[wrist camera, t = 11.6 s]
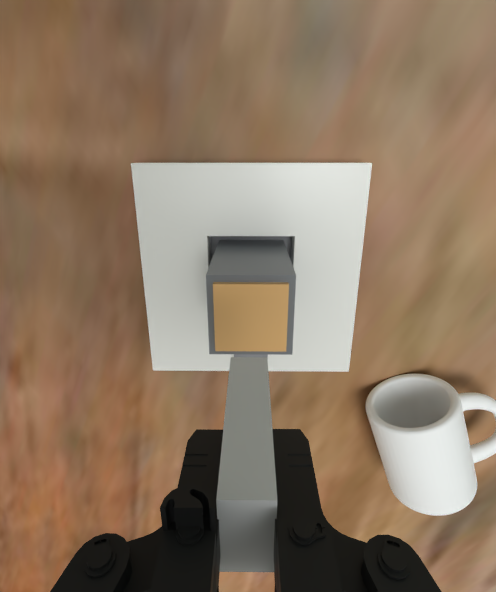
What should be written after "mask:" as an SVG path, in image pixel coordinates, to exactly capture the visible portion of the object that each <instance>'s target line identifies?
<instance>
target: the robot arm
mask: <svg viewBox="0 0 496 592" xmlns="http://www.w3.org/2000/svg"><path fill="white" fill-rule="evenodd" d="M160 511H161V519H162V527H161V528H159V529H158V530H156V531H155V532H153V533H151V534H149V535H147V536H144V537H141V538H138V539H135V540H131V541H128V542H126V540H125V539H124V538H123V537H121V536H119V535H117V534H110V533H105V534H102V535H99V536H96V537H94V538H92V539H91V540H89V541H88V542H86V543H85V544H84V545H83V546H82V547H81V548H80V549H79V550H78V552H77V553H76V554H75V555H74V557H73V558H72V560H71V561H70V563H69V564H68V566H67V567H66V569H65V570H64V572H63V573H62V575H61V576H60V578H59V579H58V581H57V582H56V584H55V585H54V587H53V588H52V590H51V591H50V592H219V586H218V583H219V570H220V572H274V574H275V592H441V590H440V589H439V587H438V586H437V584H436V583H435V581H434V579H433V578H432V576H431V575H430V573H429V572H428V570H427V568H426V567H425V565H424V564H423V562H422V561H421V559H420V557H419V556H418V555H417V553H416V552H415V551H414V550H413V549H412V548H411V546H410V545H408V544H407V543H405V542H404V541H402V540H401V539H399V538H396V537H393V536H390V535H377V536H375V537H373V538H371V539H369V541H368V542H367V543H365V542H362V541H359V540H356V539H353V538H351V537H348V536H346V535H343V534H341V533H340V532H338V531H337V530H335V529H334V528H333V527H332V526H331V525H330V524H329V523H328V522H327V520H326V518H325V517H324V515H323V512H322V509H321V504H320V499H319V494H318V489H317V483H316V478H315V473H314V468H313V462H312V457H311V452H310V447H309V441H308V439H307V438H306V437H305V435H304V434H303V433H302V431H301V430H300V429H272V417H271V403H270V389H269V375H268V361H267V357H231V359H230V369H229V379H228V389H227V399H226V409H225V419H224V428H223V430H196V431H195V432H194V433H193V435H192V436H191V437H190V439H189V440H188V442H187V447H186V452H185V457H184V461H183V467H182V470H181V475H180V479H179V484H178V488H177V489H175V490H173V491H171V492H170V493H169V494H168V495H167V496H166V497H165V498H164V500H163V502H162V505H161V507H160Z"/></svg>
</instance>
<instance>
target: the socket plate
mask: <svg viewBox="0 0 496 592" xmlns="http://www.w3.org/2000/svg"><path fill="white" fill-rule="evenodd" d="M131 169H132V178H133V188H134V197H135V206H136V216H137V225H138V234H139V244H140V253H141V262H142V272H143V281H144V290H145V300H146V309H147V318H148V328H149V337H150V346H151V356H152V365H153V370H165V371H229V369H230V359H231V357H267V361H268V371H345V372H349V365H350V356H351V347H352V338H353V329H354V320H355V311H356V303H357V294H358V285H359V276H360V267H361V258H362V249H363V240H364V231H365V222H366V214H367V205H368V196H369V187H370V178H371V169H372V163H365V162H140V163H131ZM219 240H283V241H284V243H285V246H286V249H287V252H288V254H289V257H290V260H291V263H292V265H293V268H294V271H295V274H296V288H295V309H294V330H293V351H292V355H273V354H209V336H208V313H207V290H206V273H207V271H208V268H209V266H210V263H211V260H212V258H213V255H214V253H215V250H216V248H217V245H218V242H219Z"/></svg>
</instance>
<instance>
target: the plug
mask: <svg viewBox="0 0 496 592" xmlns="http://www.w3.org/2000/svg"><path fill="white" fill-rule="evenodd" d="M295 288H296V274H295V271H294V268H293V265H292V263H291V260H290V257H289V254H288V252H287V249H286V246H285V243H284V241H283V240H219V242H218V245H217V248H216V250H215V253H214V255H213V258H212V260H211V263H210V266H209V268H208V271H207V273H206V290H207V313H208V336H209V354H273V355H292V351H293V330H294V309H295Z"/></svg>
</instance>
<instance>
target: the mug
mask: <svg viewBox="0 0 496 592" xmlns="http://www.w3.org/2000/svg"><path fill="white" fill-rule="evenodd" d="M472 409H482V410H487V411H490V412H492V413H493V414H494V417H495V420H496V400H494V399H493V398H491V397H490V396H487V395H485V394H481V393H474V392H469V393H459V394H458V393H457V391H456V390H455V389H454V387H452V386H451V385H450V384H449V383H447V382H446V381H444V380H442V379H440V378H437V377H434V376H431V375H426V374H403V375H398V376H395V377H392V378H389V379H387V380H385V381H383V382H381V383H379V384H378V385H377V386H376V387H374V388H373V389H372V391H371V392H370V393H369V395H368V397H367V400H366V413H367V416H368V419H369V422H370V425H371V429H372V432H373V435H374V438H375V441H376V444H377V448H378V451H379V454H380V457H381V460H382V463H383V466H384V470H385V473H386V476H387V479H388V482H389V485H390V488H391V490H392V492H393V493H394V495H395V496H396V497H397V498H398V499H399V500H400V501H401V502H402V503H403V504H404V505H406V506H407V507H409V508H411V509H412V510H415V511H417V512H420V513H423V514H428V515H448V514H452V513H455V512H458V511H460V510H462V509H463V508H465V507H466V506H467V505H468V504H469V503H470V502H471V501H472V500H473V498H474V496H475V494H476V491H477V478H476V473H475V468H474V463H476V462H479V461H481V460H484V459H486V458H488V457H490V456H492V455H494V454H495V453H496V429H495V432H494V433H493V435H492V436H491V437H489V438H488V439H486V440H484V441H482V442H479V443H476V444H473V445H470V444H469V439H468V434H467V429H466V424H465V419H464V414H463V411H465V410H472Z"/></svg>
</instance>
